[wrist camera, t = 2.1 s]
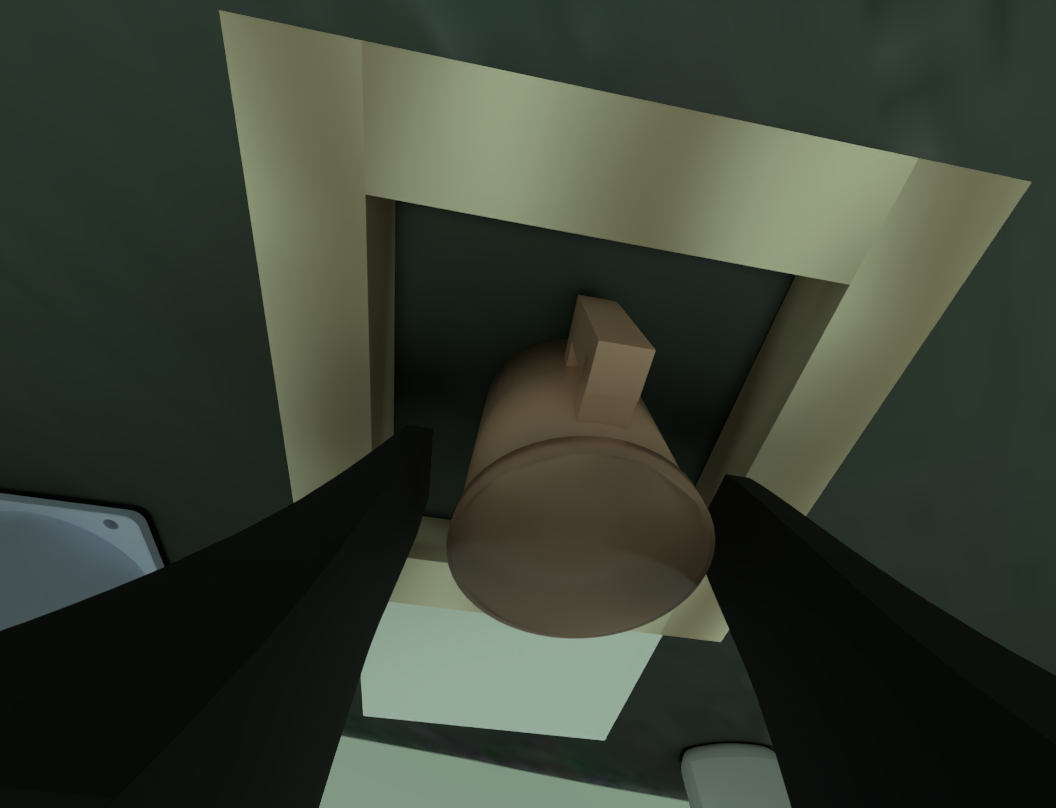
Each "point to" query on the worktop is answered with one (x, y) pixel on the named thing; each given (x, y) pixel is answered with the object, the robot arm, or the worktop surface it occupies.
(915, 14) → the worktop surface
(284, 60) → the holder
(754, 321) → the worktop surface
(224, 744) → the robot arm
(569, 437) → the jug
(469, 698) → the mat
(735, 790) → the eye dropper bottle
